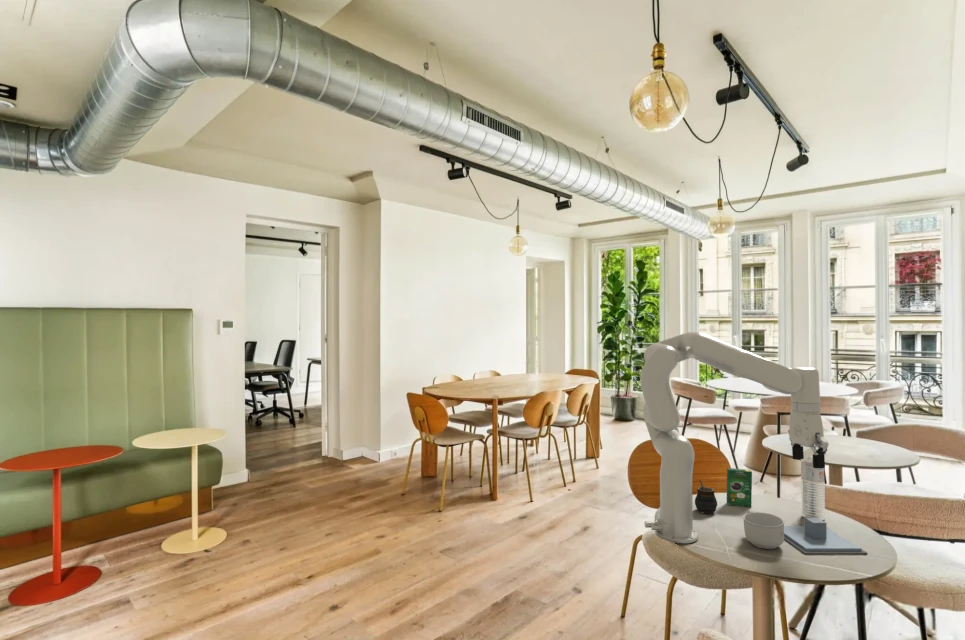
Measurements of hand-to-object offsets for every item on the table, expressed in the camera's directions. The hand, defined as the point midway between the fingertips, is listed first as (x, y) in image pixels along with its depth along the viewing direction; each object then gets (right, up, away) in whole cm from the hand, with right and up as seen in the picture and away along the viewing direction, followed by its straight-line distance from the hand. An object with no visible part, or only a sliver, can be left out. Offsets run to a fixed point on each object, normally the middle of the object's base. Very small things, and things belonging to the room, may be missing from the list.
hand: (808, 463), depth 154 cm
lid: (+2, -23, -1) cm, 23 cm away
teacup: (-15, -24, -2) cm, 28 cm away
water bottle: (+13, -24, +17) cm, 32 cm away
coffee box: (-6, -24, +29) cm, 38 cm away
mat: (+2, -24, -1) cm, 24 cm away
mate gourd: (-21, -24, +23) cm, 40 cm away
